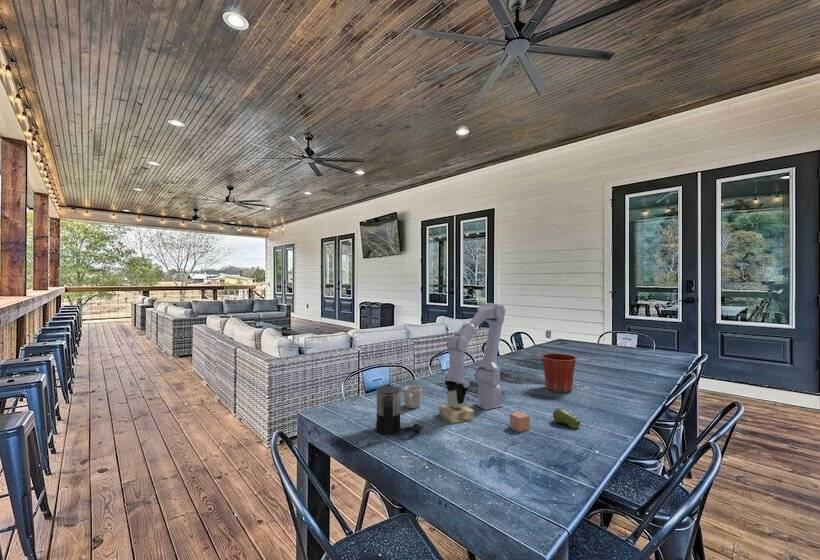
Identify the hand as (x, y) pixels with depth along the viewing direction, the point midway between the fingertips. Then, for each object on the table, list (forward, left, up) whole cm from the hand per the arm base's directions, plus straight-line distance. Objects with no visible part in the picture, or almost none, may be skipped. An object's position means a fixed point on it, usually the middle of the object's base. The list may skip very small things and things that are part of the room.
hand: (456, 400), depth 147 cm
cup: (+11, -17, -7) cm, 21 cm away
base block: (0, 0, -7) cm, 7 cm away
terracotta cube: (-15, +19, -6) cm, 25 cm away
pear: (-33, +24, -7) cm, 42 cm away
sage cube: (0, 0, -2) cm, 2 cm away
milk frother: (+26, +2, -7) cm, 27 cm away
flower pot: (-66, -9, -7) cm, 67 cm away
